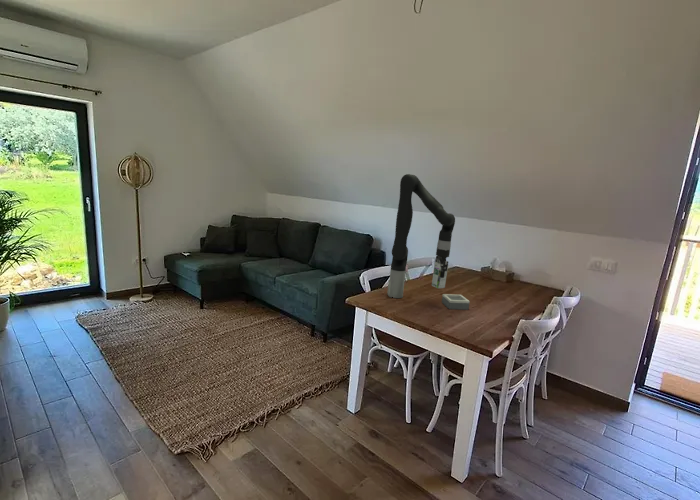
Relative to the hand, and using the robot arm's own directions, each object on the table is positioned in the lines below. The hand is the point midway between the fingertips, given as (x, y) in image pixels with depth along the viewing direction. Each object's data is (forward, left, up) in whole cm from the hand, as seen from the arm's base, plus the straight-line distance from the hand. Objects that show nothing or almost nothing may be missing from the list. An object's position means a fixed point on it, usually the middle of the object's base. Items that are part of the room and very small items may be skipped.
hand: (439, 275), depth 217 cm
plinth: (+12, +1, -19) cm, 22 cm away
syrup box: (0, 0, -7) cm, 7 cm away
